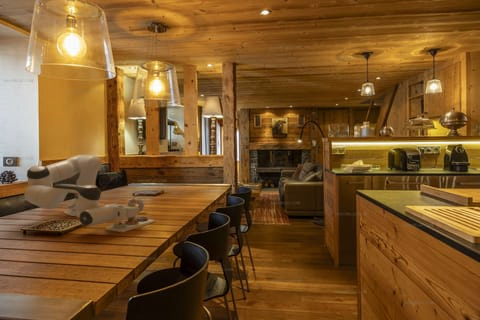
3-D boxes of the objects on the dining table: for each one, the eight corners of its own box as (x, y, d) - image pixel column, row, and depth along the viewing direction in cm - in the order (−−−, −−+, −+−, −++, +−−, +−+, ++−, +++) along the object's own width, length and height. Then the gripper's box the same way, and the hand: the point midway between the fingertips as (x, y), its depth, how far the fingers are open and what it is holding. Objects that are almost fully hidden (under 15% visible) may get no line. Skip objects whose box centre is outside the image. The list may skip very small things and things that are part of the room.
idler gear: (122, 223, 163) (121, 199, 162) (131, 221, 169) (131, 197, 169) (131, 225, 160) (131, 200, 159) (140, 222, 166) (140, 198, 166)
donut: (144, 212, 200) (143, 197, 199) (143, 213, 196) (143, 198, 196) (128, 212, 197) (128, 198, 197) (127, 214, 194) (127, 199, 193)
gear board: (106, 229, 156) (106, 222, 156) (139, 219, 178) (139, 213, 178) (122, 232, 151) (122, 225, 151) (154, 222, 173) (154, 215, 173)
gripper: (98, 216, 157) (119, 211, 170) (126, 220, 148) (146, 215, 161) (98, 204, 157) (119, 200, 169) (126, 208, 148) (146, 203, 161)
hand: (132, 207), depth 165 cm, fingers open, 5 cm apart
